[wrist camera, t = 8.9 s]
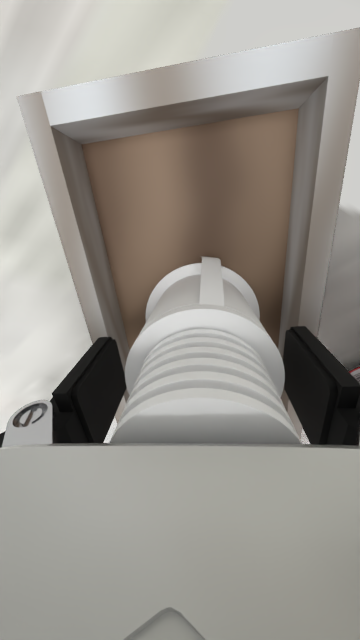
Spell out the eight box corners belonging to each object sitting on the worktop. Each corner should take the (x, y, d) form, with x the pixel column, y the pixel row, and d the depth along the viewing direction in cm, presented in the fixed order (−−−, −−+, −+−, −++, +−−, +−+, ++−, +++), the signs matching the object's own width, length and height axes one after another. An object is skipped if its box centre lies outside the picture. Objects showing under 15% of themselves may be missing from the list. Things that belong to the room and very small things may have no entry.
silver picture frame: (316, 85, 10) (369, 25, 7) (279, 430, 19) (294, 472, 16) (66, 129, 12) (16, 96, 8) (142, 430, 21) (131, 469, 17)
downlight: (244, 376, 16) (308, 585, 6) (145, 365, 16) (73, 549, 7) (271, 259, 13) (460, 339, 3) (148, 248, 13) (24, 294, 4)
